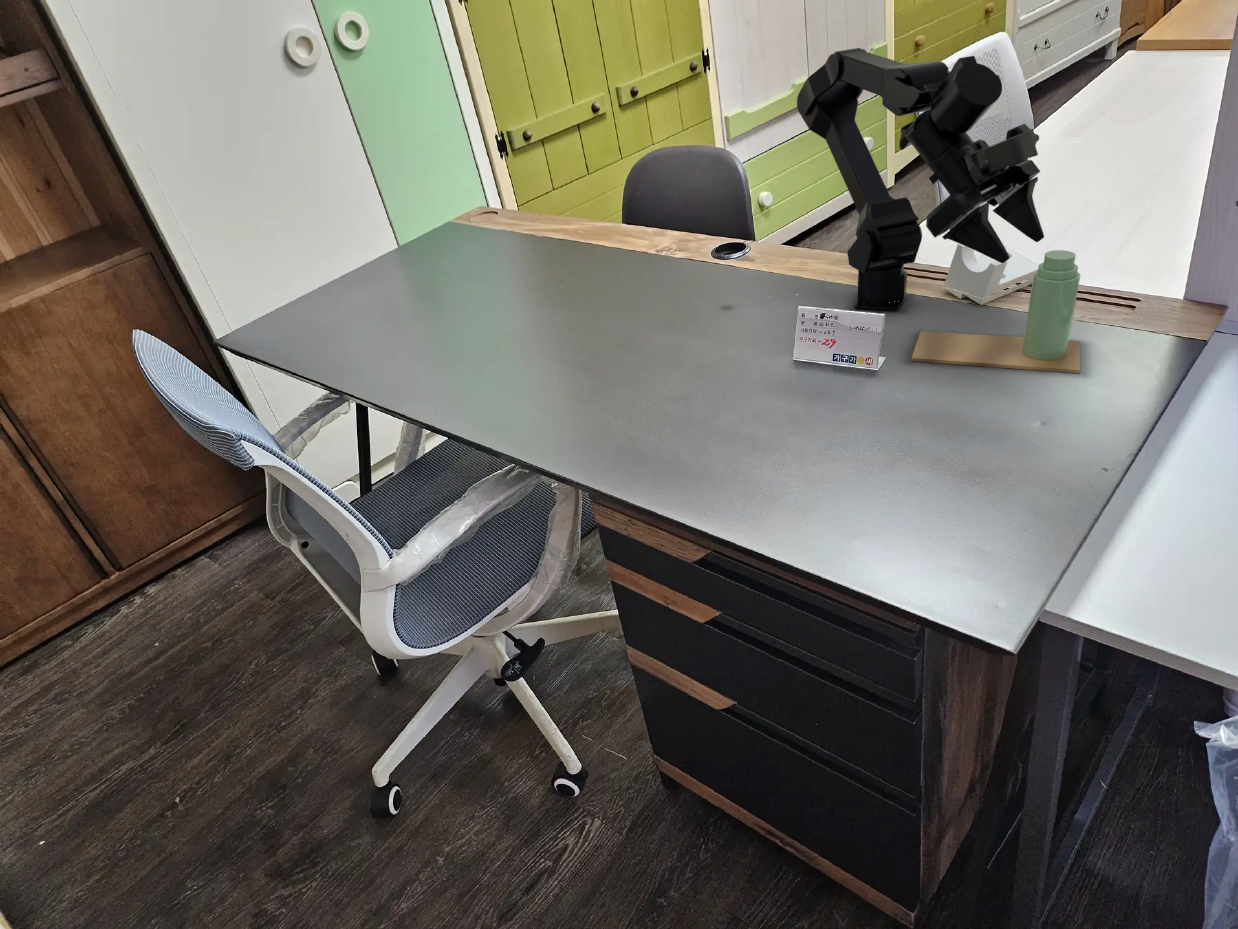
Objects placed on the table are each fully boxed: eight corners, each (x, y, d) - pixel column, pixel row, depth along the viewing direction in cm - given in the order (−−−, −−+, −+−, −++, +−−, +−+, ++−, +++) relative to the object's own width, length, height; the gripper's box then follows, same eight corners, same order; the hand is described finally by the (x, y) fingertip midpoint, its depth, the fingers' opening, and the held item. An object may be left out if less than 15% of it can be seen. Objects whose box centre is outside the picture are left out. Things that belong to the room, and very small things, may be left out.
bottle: (1021, 358, 109) (1035, 260, 102) (1023, 342, 113) (1037, 247, 106) (1066, 362, 107) (1084, 262, 100) (1066, 345, 111) (1083, 248, 104)
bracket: (978, 310, 127) (995, 265, 121) (943, 287, 131) (957, 243, 126) (1035, 286, 132) (1054, 243, 126) (999, 265, 136) (1016, 222, 131)
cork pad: (911, 361, 113) (911, 357, 113) (920, 334, 120) (920, 330, 119) (1079, 373, 105) (1080, 369, 105) (1079, 344, 112) (1079, 340, 111)
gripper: (958, 122, 96) (1042, 231, 94) (1034, 91, 106) (1111, 189, 104) (892, 186, 105) (968, 286, 103) (968, 152, 115) (1038, 243, 113)
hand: (1023, 250), depth 106 cm, fingers open, 9 cm apart
